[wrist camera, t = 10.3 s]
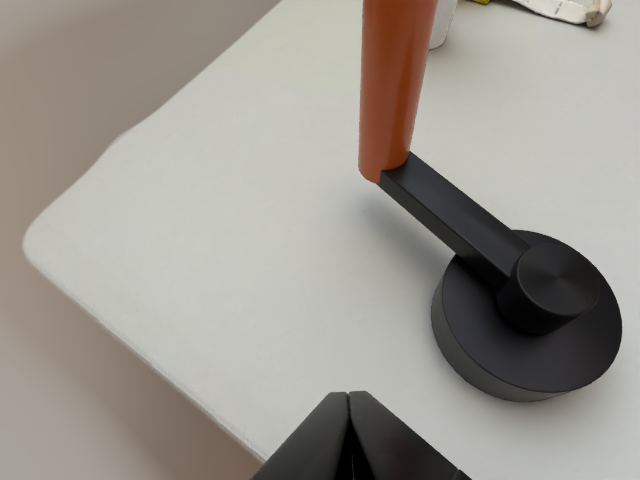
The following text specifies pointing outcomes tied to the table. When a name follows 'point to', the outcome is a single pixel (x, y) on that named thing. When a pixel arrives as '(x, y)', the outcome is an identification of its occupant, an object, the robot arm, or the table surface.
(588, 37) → the table surface
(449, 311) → the base
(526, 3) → the toy measuring tape
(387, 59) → the crank handle
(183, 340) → the table surface
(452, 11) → the cup
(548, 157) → the table surface
